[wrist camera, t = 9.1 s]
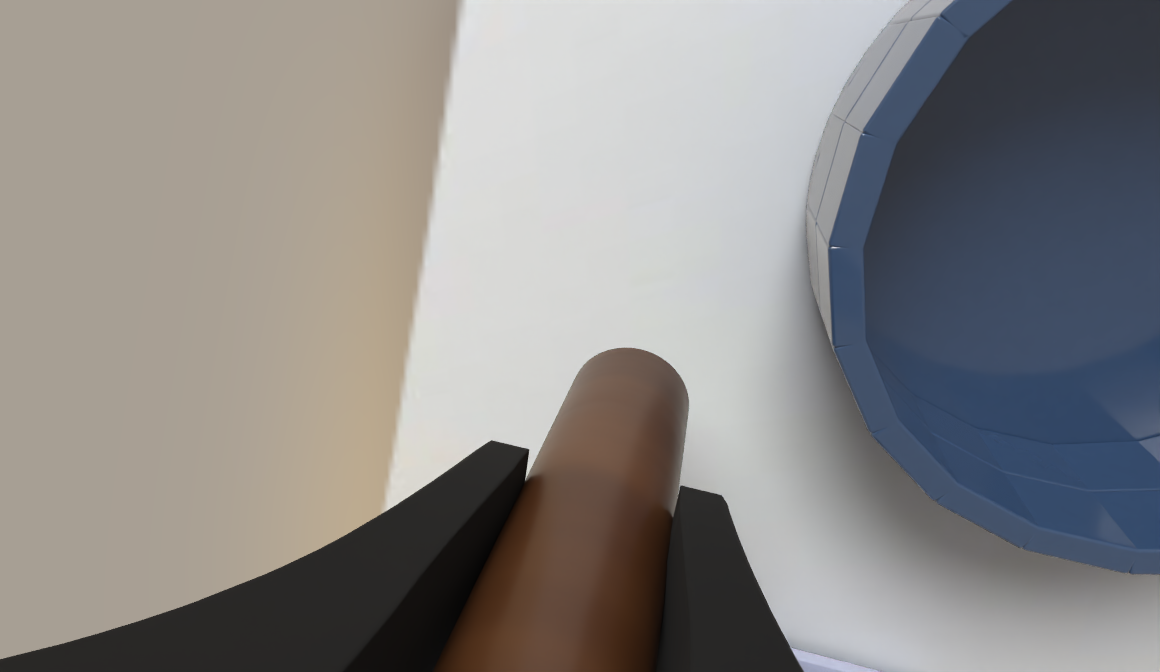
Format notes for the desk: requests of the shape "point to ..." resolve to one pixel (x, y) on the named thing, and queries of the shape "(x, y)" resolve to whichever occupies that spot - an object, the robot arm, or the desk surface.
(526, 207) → the desk surface
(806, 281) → the desk surface
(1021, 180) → the bowl
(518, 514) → the stirring stick
